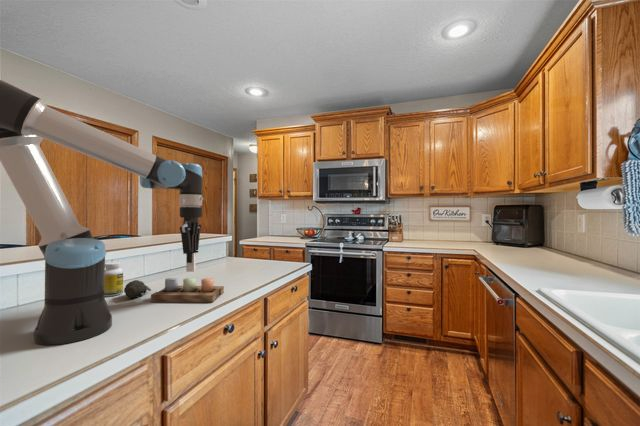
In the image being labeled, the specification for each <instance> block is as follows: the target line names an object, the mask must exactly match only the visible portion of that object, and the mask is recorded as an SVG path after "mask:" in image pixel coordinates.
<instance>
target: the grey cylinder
mask: <svg viewBox="0 0 640 426" xmlns="http://www.w3.org/2000/svg"><path fill="white" fill-rule="evenodd" d="M178 286H179V278H178V277H168V278H165V279H164V288H165V291H167V292H172V291H176V290H178Z"/></svg>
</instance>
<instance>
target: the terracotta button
mask: <svg viewBox="0 0 640 426" xmlns="http://www.w3.org/2000/svg"><path fill="white" fill-rule="evenodd" d="M200 281H201V285H200V286H201V291H202V292H211V291H213V290H214V286H215V283H214V282H215V279H214V278H213V277H212V278H211V277H206V278H202V279H201V280H200Z"/></svg>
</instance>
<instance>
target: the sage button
mask: <svg viewBox="0 0 640 426" xmlns="http://www.w3.org/2000/svg"><path fill="white" fill-rule="evenodd" d="M182 281H183V282H182V283H183V284H182V286H183V291H184V292H192V291H195V290H196V286H197V278H196V277H195V278H194V277H187V278H183V280H182Z"/></svg>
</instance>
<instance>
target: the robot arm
mask: <svg viewBox="0 0 640 426" xmlns="http://www.w3.org/2000/svg"><path fill="white" fill-rule="evenodd" d="M43 140H46V141H49V142H51V143H54V144H57V145H60V146H62V147H64V148H67V149H69V150H72V151H74V152H78V153H80V154H82V155H84V156H88V157H90V158H92V159H95V160H98V161H100V162H103V163H105V164H108V165H111V166H113V167H116V168H119V169H121V170H123V171H126V172H128V173H131V174H133V175H136V176H139V183H140V186H141V187H142V188H143V189H151V190H156V189H157V190H179V203H178V204H179V206H181V207H179V218H183V221H182V222H183V224H182V226H180V227H179V233H180V236H181V244H182V246H181V247H182V254H183V255H185V256H186V259H185V261H186V263H185V265H186V267H185V268H186V270H185V271H186V272H187V273H189V272H195V271H197V270H196V269H197V268H196V265H197V262H196V261H197V259H196V256H197V255H196V254H197V253H199V248H200V247H199V244H200V234H201V228H202V225H201V224H199V218H202V217H203V208H202V206H203V201H204V197H203V179H204V177H203V168H202V166H201V165H200V164H198V163H193V162H192V163H189V162H183V163H180V162H179V161H176V160H170V159H169V160H167V159H165V158H163V157H162V156H161V157H160V156H158V155H156V154H153V153H151V152H149V151H147V150H145V149H143V148H140V147H138V146H136V145H134V144H132V143H129V142H128V141H125V140H122V139H121V138H118V137H116V136H114V135H111V134H110V133H107V132H105V131H103V130H101V129H98V128H96V127H93V126H91V125H90V124H88V123H85V122H83V121H80V120H79V119H77V118H74V117H72V116H69V115H68V114H66V113H62V112H61V111H58V110H56V109H54V108H51V107H50V106H48V105H47V104H46V103H45V100H44V99H42V98H40V97H37V96H35V95H33V94H31V93H29V92H27V91H25V90H23V89H21V88H19V87H17V86H15V85H13V84H10V83H8V82H6V81H5V80H1V79H0V164H1V165H2V167H3V168H4V170H5V172H6V175H7V176H8V177H9V180H10V182H11V183H12V185H13V187H14V189H15V190H16V193H17V194H18V196H19V198H20V199H21V201H22V203H23V205H24V207H25V208H26V211H27V212H28V214H29V216H30V218H31V219H32V222H33V224H34V225H35V227H36V229H37V231H38V232H39V235H40V237H41V239H40V240H39V242H38V244H37V246H38V248H39V250H40V251H41V253H42V255H43V260H44V303H43V304H44V306H43V309H42V311H41V314H40V315H39V319H38V321H37V325H36V326H35V328H34V330H33V342H34V343H35V344H38V345H46V346H52V345H55V346H56V345H64V344H69V343H75V342H79V341H83V340H86V339H90V338H92V337H95V336H99V335H102V333H105V332H107V331H108V330H109V329H111V327H112V326H113V316H112V314H111V312H110V308H109V306H108V304H107V301H106V299H105V296H104V288H105V270H106V268H105V263H106V254H107V250H106V244H105V243H104V242H103V241H102V240H100V239H95V238H94V236H93V234H92V232H91V231H90V228H89V227H85V226H83V225H81V224H80V222H79V221H78V219H77V217H76V215H75V213H74V211H73V209H72V206H71V205H70V203H69V201H68V199H67V197H66V195H65V193H64V191H63V189H62V187H61V185H60V183H59V181H58V179H57V177H56V176H55V173H54V171H53V170H52V167H51V165H50V164H49V162H48V160H47V158H46V156H45V154H44V152H43V150H42V147H41V143H42V141H43Z"/></svg>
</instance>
